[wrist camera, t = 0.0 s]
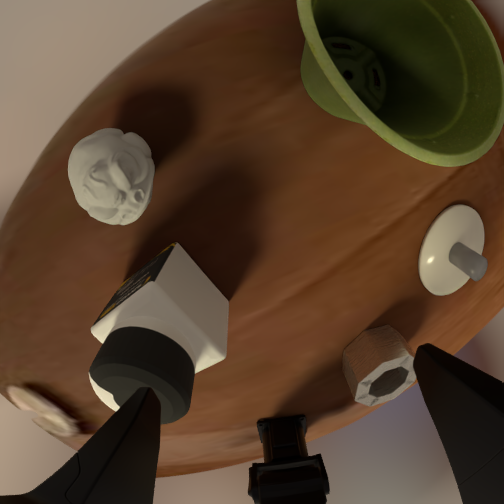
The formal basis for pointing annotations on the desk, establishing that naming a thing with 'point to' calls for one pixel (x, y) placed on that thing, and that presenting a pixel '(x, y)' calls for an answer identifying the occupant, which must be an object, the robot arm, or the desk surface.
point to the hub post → (452, 250)
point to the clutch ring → (378, 365)
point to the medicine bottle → (160, 333)
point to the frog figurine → (112, 175)
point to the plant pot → (408, 73)
